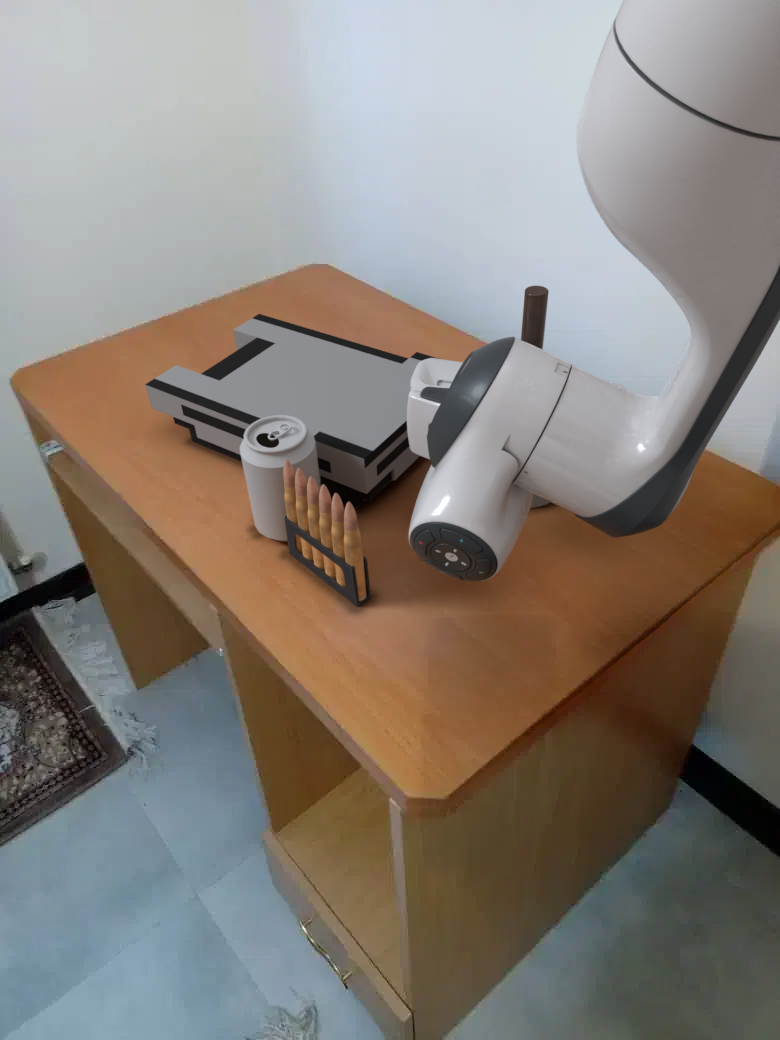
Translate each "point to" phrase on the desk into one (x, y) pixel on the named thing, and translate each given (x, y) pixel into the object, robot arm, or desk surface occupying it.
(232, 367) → the game console
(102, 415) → the desk surface
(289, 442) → the can
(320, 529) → the ammunition clip
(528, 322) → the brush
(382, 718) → the desk surface
